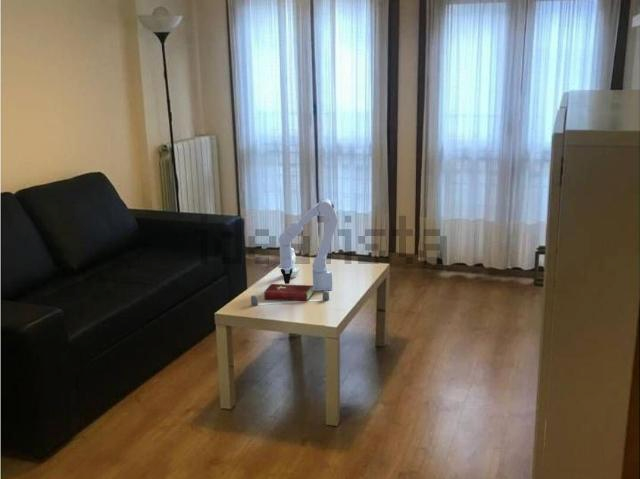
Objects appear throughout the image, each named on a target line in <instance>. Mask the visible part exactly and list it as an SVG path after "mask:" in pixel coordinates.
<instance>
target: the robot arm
mask: <svg viewBox="0 0 640 479" xmlns="http://www.w3.org/2000/svg"><path fill="white" fill-rule="evenodd" d="M321 215H322V216H323V217H324V218H325V220H326V221H327V223H326V227H325V230H324V233H323V236H322V239H321V242H320V246H319V249H318V252H317V255H315V257H314V259H313V263H312V284H311V285H312V286H313V292H319V291H332V290H333V274H332V270H331V269H330V270H329V269H328V268H327V267H326V266H327V261H328V260H327V256H328V254H329V249H330V247H331V243H332V240H333V237H334V234H335V230H336V227H337V225H338V224H337V223H338V221H339V217H338V213H337V212H336V206H335V204H334V203H333V201H332V200H331V199H330V198H326V197H325V198H322V199H321V200H320V201H319V202H317V203H316V204H314V205H313V206H312V207H311V208H310V209H309V210H308V211H307V212H306V213H305V214H304V215H303V216H302V217H301V218H300V219H299V220H298V221H297V220H296V221H295V220H294V221H292V222H290V224H289V225H288V227H287V228H286V229H284V230H283V231H282V233H281V234H280V235H279V236H278V237H279V238H278V243H279V262H280V264H279V265H277V267H278V268H279V269H280V273H281V274H282V277H283V282H284V284H288V285H290V282H291V278H292V277H291V274H292V267H293V265H292V250H291V248H292V242H291V241H292V240H294V239H295V238H297V237H298V235H299V234H300V233H301V232H303V230H304V226H305V225H306V224H307V223H308V222H309V221H310V220H312V219H313V218H314V217H316V216H321Z"/></svg>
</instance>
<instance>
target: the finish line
mask: <svg viewBox="0 0 640 479" xmlns="http://www.w3.org/2000/svg"><path fill="white" fill-rule="evenodd" d="M321 291H322V298H321V299H320V298H319V299H309V301H288V300H287V301H277V302H264V303H263V302H260V303H259V301H258V300H259V299H258V298H259V297H258V295H251V296H250V302H251V303H250V304H251V306H252V305H253V306H252V307H257V306H266V305H267V306H268V305H269V306H270V305H280V304H293V303H309V302H325V301H326V302H328V301H330V290H321Z"/></svg>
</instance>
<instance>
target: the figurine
mask: <svg viewBox="0 0 640 479" xmlns="http://www.w3.org/2000/svg"><path fill="white" fill-rule="evenodd" d="M291 250H292V265H293V267H292V274H291V277H290V278H296V277H297V276H298V274H299V272H300V270H301V267H296V266H295V263H296V261H297V260H296V253H295V249H294V248H293V247H291Z"/></svg>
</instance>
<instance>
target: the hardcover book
mask: <svg viewBox="0 0 640 479" xmlns="http://www.w3.org/2000/svg"><path fill="white" fill-rule="evenodd" d="M312 285H313V284H311V285H307V284H306V285H305V284H285V283H282V284H281V283H271V284H270V285H269V286H267V288H266V289H264V290H263V299H264V300H268V301H269V300H270V301H287V302H288V301H309V300H311V298H312V297H313V295H314V294H315V293H314V291H313V286H312Z"/></svg>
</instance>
